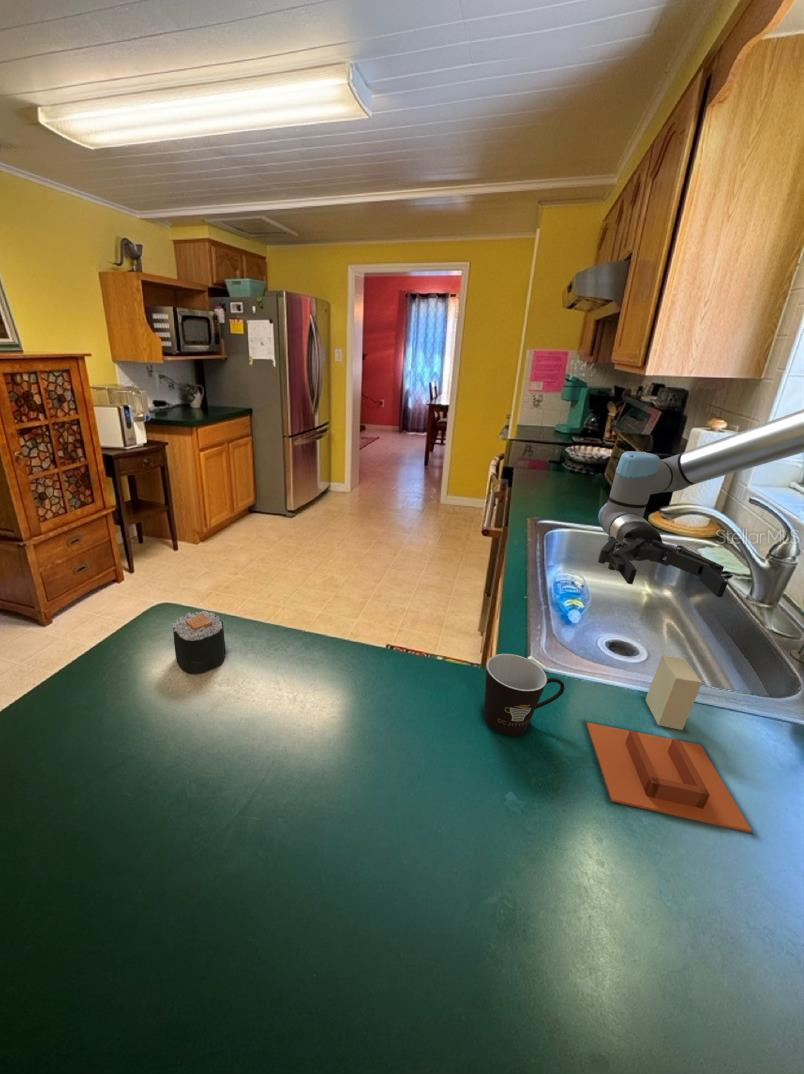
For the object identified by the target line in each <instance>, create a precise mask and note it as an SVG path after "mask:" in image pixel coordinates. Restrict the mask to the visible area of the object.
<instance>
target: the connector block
mask: <svg viewBox="0 0 804 1074" xmlns="http://www.w3.org/2000/svg"><path fill="white" fill-rule="evenodd" d="M702 684H703V682H702V681H701V679H700V678H699V676H698V675H697V673H696V672H695V670H694V669H693V668H692V666H691V664H689V662H688V661H687V659H686V658H683V657H682V658H681V657H675V656H671V655H664V654H661V655H660V659H659V661H658V664H657V667H656V670H655V673H654V675H653V677H652V681H651V683H650V685H649V689H648V692H647V695H646V697H645V703H646V704H647V706H648V708H649V710H650V712H651V714H652V716H653V718H654V720H655V722H656V724H657V725H658V726H661V727H664V728H665V727H666V728H670V729H675V730H680V731H683V730H684V727H685V725H686V723H687V720H688V718H689V715H690V713H691V711H692V708H693V706H694V703H695V702H696V698H697V696H698V694H699V691H700V689H701V686H702Z"/></svg>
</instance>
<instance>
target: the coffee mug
mask: <svg viewBox="0 0 804 1074" xmlns="http://www.w3.org/2000/svg"><path fill="white" fill-rule="evenodd" d="M550 683H551V684H552V683H556V684H557V685H559V686H560V687H559V690H558V691H557V693H555V694H554V695H553V696H551V697H549V698H547V699H545V700H542V701H540V700H541V697H542V694H543V691H544V689H545V687H546V685H547V684H550ZM484 685H485V686H484V699H483V700H484V702H483V704H484V705H483V718H484V719H483V720H485V723H486V724H487V726H488V727H490V728H491V729H492V730H494V731H495V732H497V733H500V734H502V735H505V736H513V737H515V736H521V735H522V734H524V733H525V732H526V731H527V729H528V726H529V725H530V722H531V721H532V717H533V715H534V713H535V711H536V710H537V709H541V707H544V706H547V705H548V704H550V703H552V702H554V701H556V700H557V699H559V697H561V696H562V695H563V694H564V692H565V683H564V682H563V681H562V680H561V679H559V678H556V677H549V678H548V677H547V673H546V672H545V671H544V670H543V668H542V667H541V666H539V665H538V664H537V663H536V662H534V660H533V661H532V660H531V659H529V658H526V657H524V656H521V655H518V654H513V653H499V654H495V655H492V656H491V657H489V658H488V660H487V662H486V667H485V683H484Z"/></svg>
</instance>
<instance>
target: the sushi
mask: <svg viewBox="0 0 804 1074" xmlns="http://www.w3.org/2000/svg"><path fill="white" fill-rule="evenodd" d="M171 627H172V633H173V645H174V653H175V661H176V664H177V666H179V667H180V669H181V670H182V671H183V672H184V673H186V674H189V675H200V674H205V673H207V672H210V671H211V670H214V669H216V668H219V666H221V665H222V664H223V663H224V662H225V656H226V655H227V653H226V652H227V651H226V644H225V643H226V642H225V630H224V629H225V628H224V622H223V620H221V618H220V617H219V614H218V615H215V613H214V612H209V611H206V610H202V611H199V612H198V611H195V613H194V612H192V613H191V612H187V613H185V616H183V615H181V616H180V617H178V619H177V618H176V619H175V621H174V622H173V623H171Z"/></svg>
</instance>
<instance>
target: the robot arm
mask: <svg viewBox="0 0 804 1074" xmlns="http://www.w3.org/2000/svg"><path fill="white" fill-rule="evenodd" d="M799 454H804V409H801V410H798V411H795V412H793V413H792V412H791V413H790V414H787V415H784V416H780V417H779V418H775V419H773V420H769V421H767V422H764V423H761V424H759V425H756V426H753V427H750V428H747V429H745V430H742V431H739V432H736V433H734V434H732V435H731V434H730V435H728V436H725V437H723V438H720V439H716V440H714V441H712V442H709V443H706V444H703V445H700V446H697V447H694V448H692V449H689V450H687V451H684V452H681V453H678V454H675V455H672V456H670V457H669V456H668V457H666V458H663V459H661V458H660V457H659V456H658V454H657V455H656V454H653V453H650V452H645V451H633V450H629V451H625V452H623V453H622V454H621V455H620V458H619V461H618V464H617V466H616V468H615V473H614V477H613V481H612V485H611V488H610V493H609V497H608V499H607V502H606V503H605V504H604V505H602V506H601V508H600V509H599V510H598V522H599V524H600V526H601V528H602V530H603V532H604V533H605V534H607V536H608V537H607V540H606V543H605V544H604V545H603V547H602V548H601V549H600V552H599V556H598V559H597V563H598V564H606V563H607V564H608V567H607V569H608V570H609V571H616V572H618V573H620V575H621V576H622V578H623V580H624V581H625V582H626V583H627V585H634V581H635V579H636V575H637V571H638V569H637V568H636V566H635V565H634V564H633V563H632V562H633V561H635V562H643V561H650V562H655V563H657V564H660V565H662V566H665V567H668V566H671V567H675V568H676V569H679V570H681V571H684V572H686V573H689V574H691V575H694V576H696V577H699V579H698V580H699V581H700V582H701V583H702V584H703V585H704V586H705V587H706V588H707V589H708V590H710V592H711V593H713V594H714V595H715V597H717V598H723V597H724V594H725V591H726V589H727V586H728V581H726V580H725V579H724V578H723V576H722V575H723V571H724V569H725V566H724V565H722V564H720V563H717V562H716V561H713V560H711V559H709V558H706V557H704V556H702V555H700V554H698V553H696V552H694V551H693V550H689V549H688V548H687V547H685V546H683V545H680V544H677V545H676V547H675V548H674V547H672V546H670V545H667V544H665V543H664V542H663V538H662V535H661V534H660V533H659V531H658V530H657V529H656V528H654V527H653V526H652V524H651V523H649V522H648V521H647V520H646V519H645V518H644V515H645V512H646V508H647V506H648V503H649V500H650V497H651V495H655V494H661V493H662V494H663V493H673V492H679V491H682V490H685V489H688V488H689V487H691V486H694V485H697V484H700V483H704V482H707V481H711V480H714V479H717V478H721V477H724V476H727V475H731V474H735V473H737V472H738V473H739V472H742V471H745V470H748V469H752V468H755V467H758V466H762V465H765V464H769V463H772V462H775V461H779V460H782V459H786V458H789V457H793V456H796V455H799Z"/></svg>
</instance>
